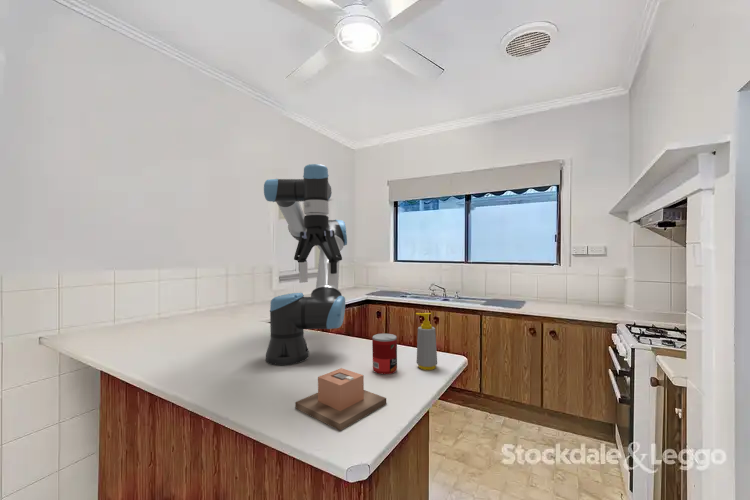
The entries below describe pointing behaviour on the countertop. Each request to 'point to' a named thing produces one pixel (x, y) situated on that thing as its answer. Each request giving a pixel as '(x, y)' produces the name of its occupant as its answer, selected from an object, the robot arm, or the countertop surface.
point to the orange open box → (340, 389)
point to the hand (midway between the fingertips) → (317, 283)
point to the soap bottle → (426, 345)
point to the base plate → (345, 416)
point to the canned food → (384, 353)
